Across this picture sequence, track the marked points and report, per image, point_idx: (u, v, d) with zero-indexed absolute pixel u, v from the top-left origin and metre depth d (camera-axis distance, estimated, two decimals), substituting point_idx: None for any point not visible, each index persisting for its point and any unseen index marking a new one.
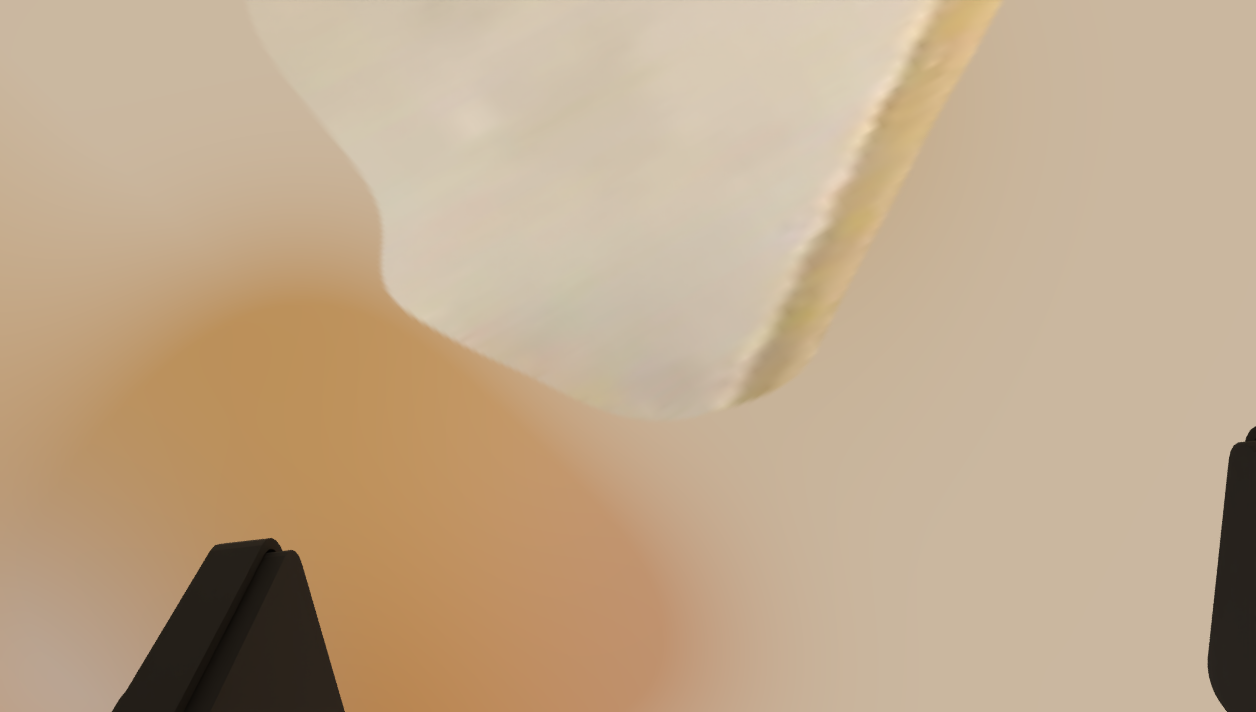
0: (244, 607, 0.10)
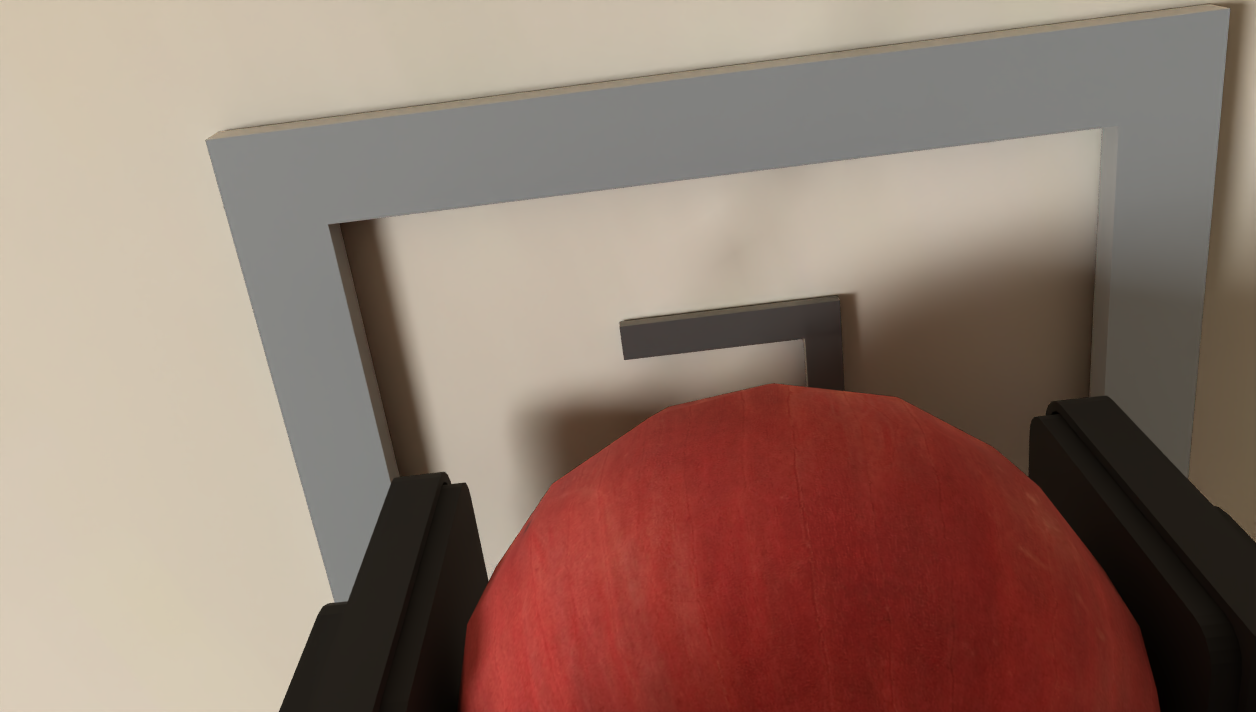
0: (436, 529, 0.10)
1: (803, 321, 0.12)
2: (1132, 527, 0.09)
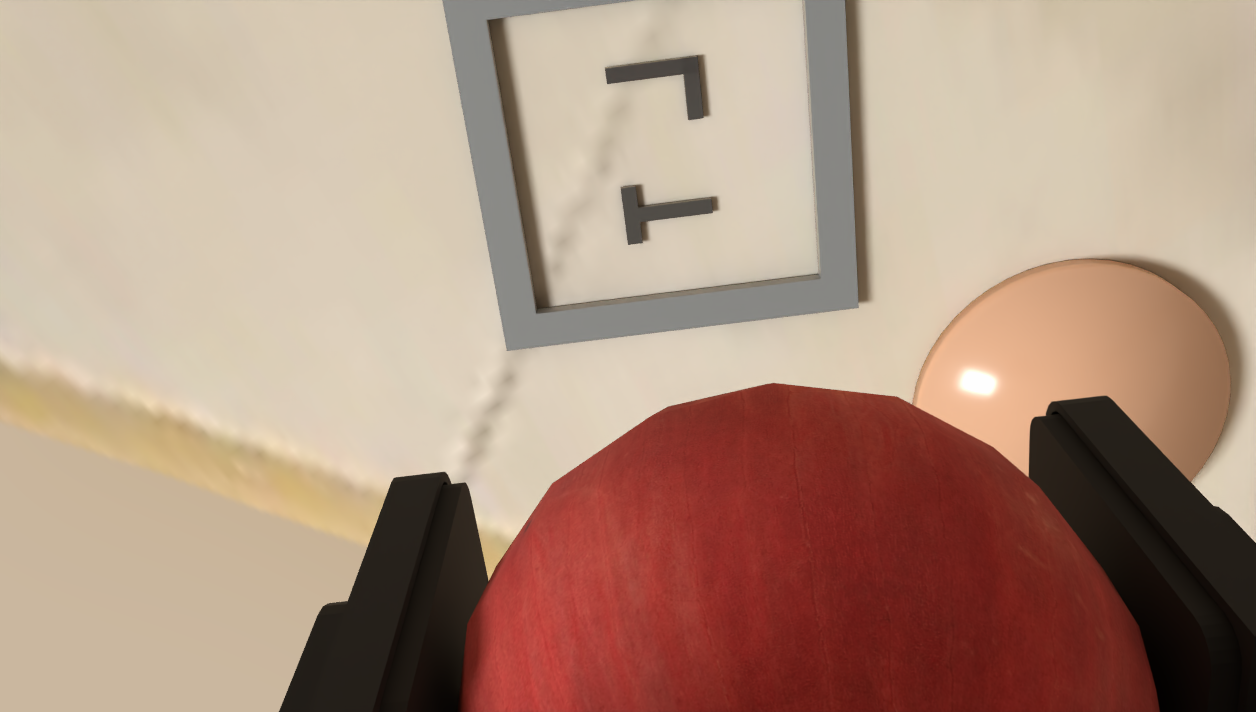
0: (436, 529, 0.10)
1: (682, 66, 0.29)
2: (1131, 527, 0.09)
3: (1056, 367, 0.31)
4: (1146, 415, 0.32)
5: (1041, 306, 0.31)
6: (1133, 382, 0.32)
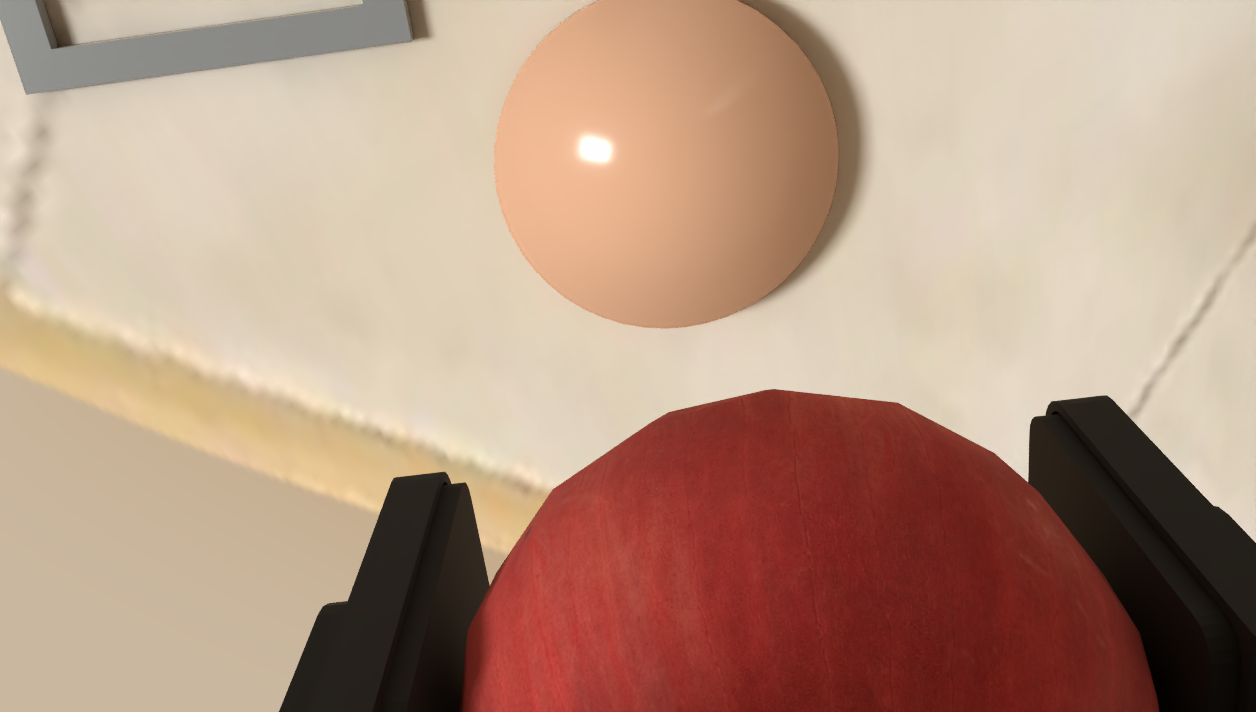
0: (436, 529, 0.10)
1: None
2: (1132, 527, 0.09)
3: (638, 110, 0.28)
4: (748, 168, 0.29)
5: (610, 35, 0.27)
6: (727, 127, 0.28)
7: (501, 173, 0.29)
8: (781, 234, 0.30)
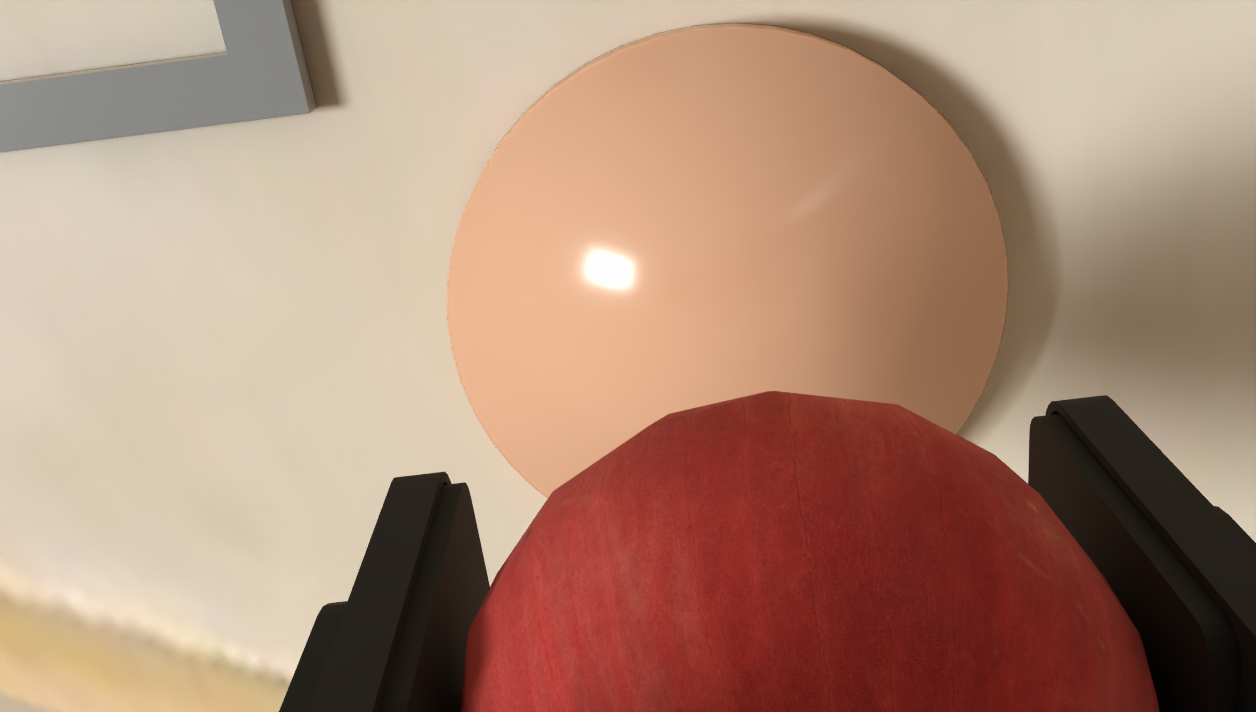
0: (436, 529, 0.10)
1: None
2: (1132, 527, 0.09)
3: (683, 227, 0.17)
4: (859, 320, 0.18)
5: (637, 107, 0.16)
6: (828, 256, 0.17)
7: (459, 324, 0.18)
8: None
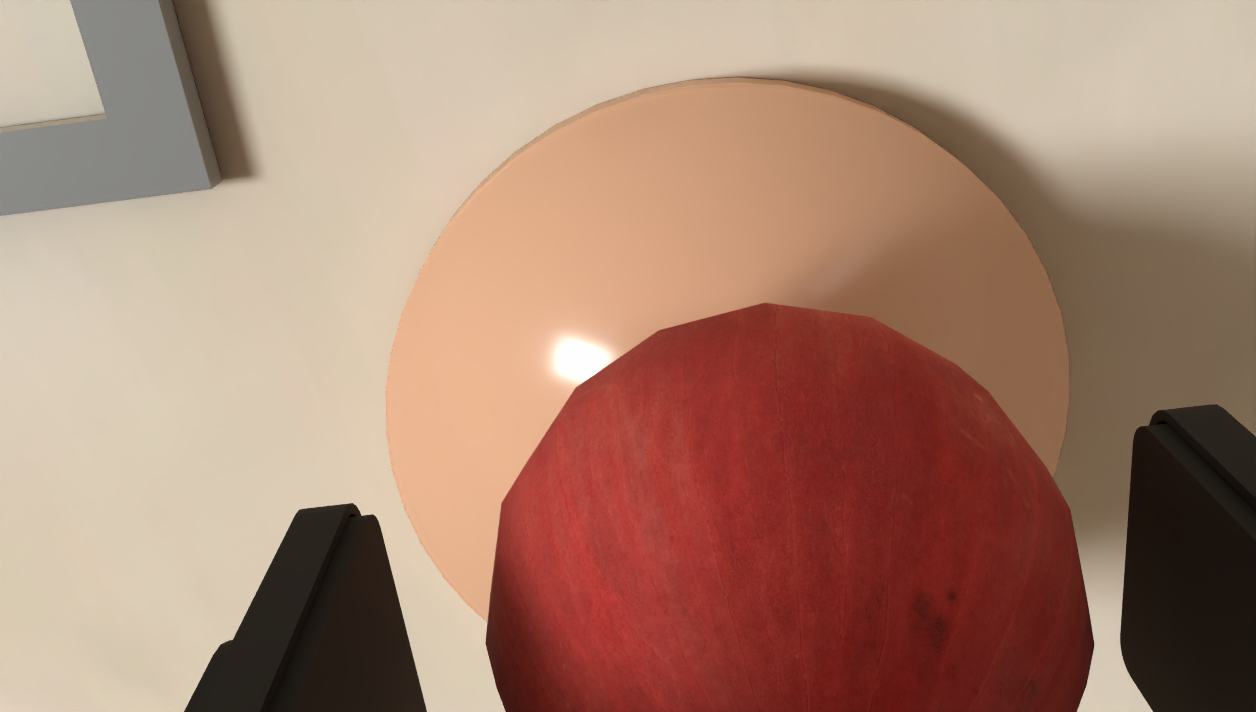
0: (334, 566, 0.10)
1: None
2: None
3: None
4: None
5: (617, 182, 0.13)
6: None
7: (401, 441, 0.15)
8: None
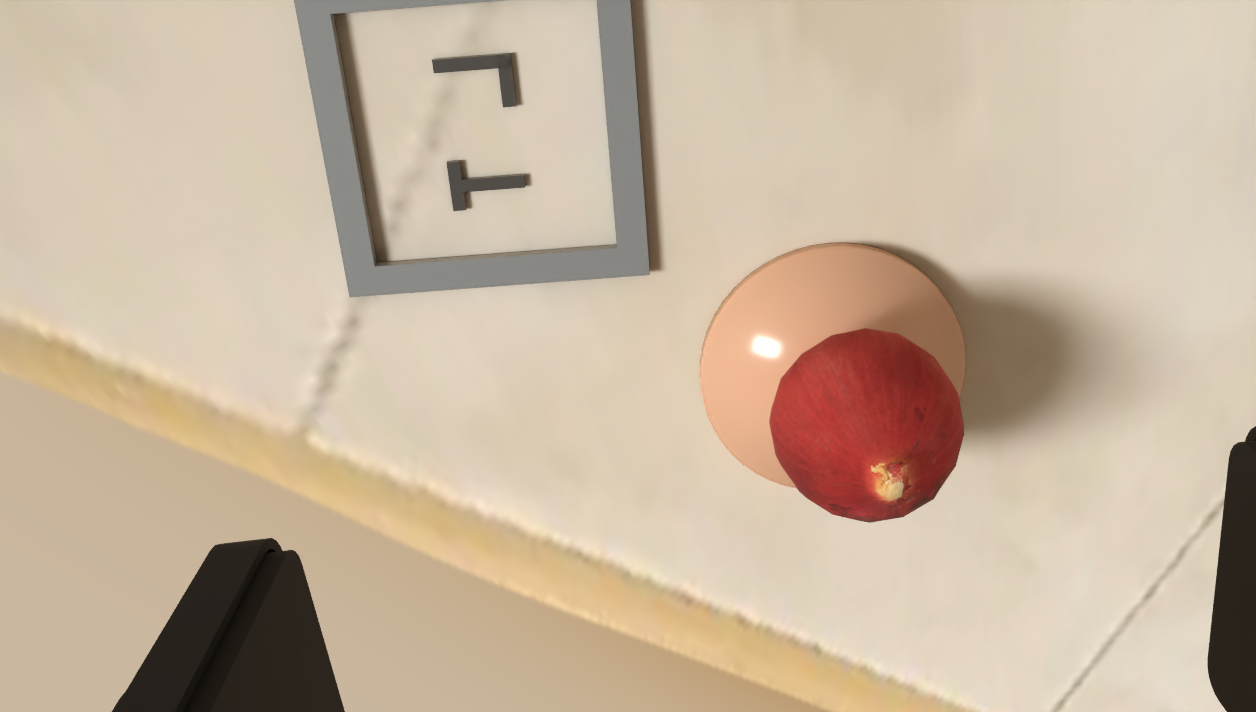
0: (244, 607, 0.10)
1: (497, 61, 0.34)
2: None
3: (817, 334, 0.37)
4: None
5: (802, 280, 0.36)
6: None
7: (707, 373, 0.37)
8: None
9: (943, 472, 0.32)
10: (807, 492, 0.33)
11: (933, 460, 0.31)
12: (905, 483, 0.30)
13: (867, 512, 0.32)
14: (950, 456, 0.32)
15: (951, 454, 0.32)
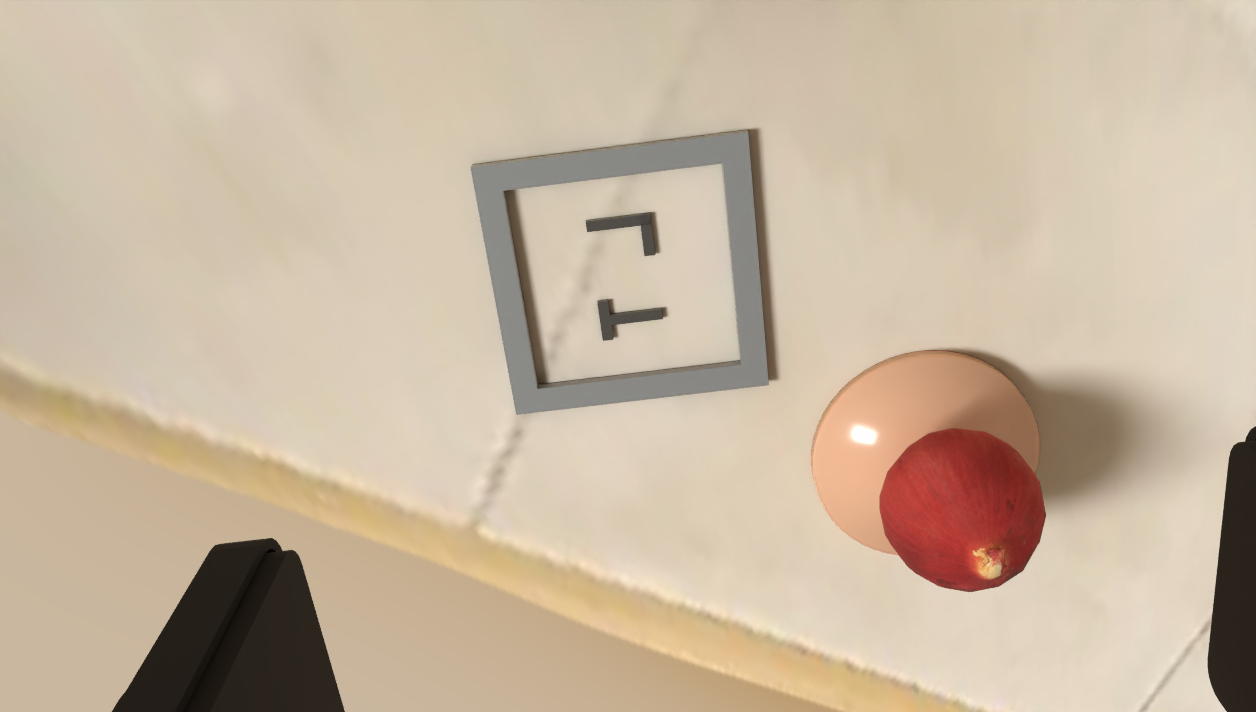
0: (244, 607, 0.10)
1: (640, 220, 0.41)
2: None
3: (912, 427, 0.44)
4: None
5: (899, 385, 0.43)
6: None
7: (819, 464, 0.44)
8: None
9: (1031, 550, 0.39)
10: (916, 569, 0.40)
11: (1023, 542, 0.38)
12: (1003, 565, 0.37)
13: (969, 586, 0.39)
14: (1036, 537, 0.39)
15: (1037, 535, 0.39)
